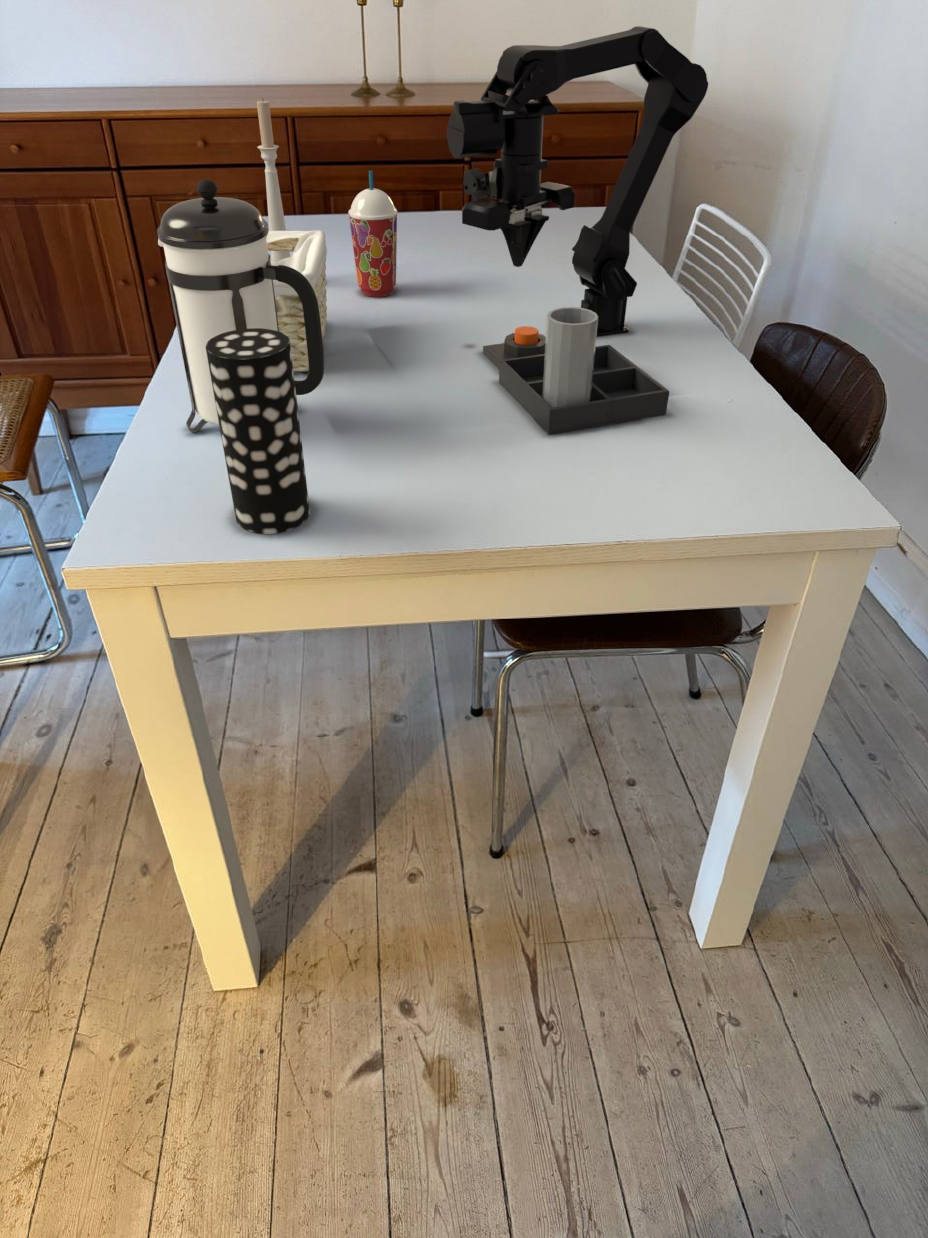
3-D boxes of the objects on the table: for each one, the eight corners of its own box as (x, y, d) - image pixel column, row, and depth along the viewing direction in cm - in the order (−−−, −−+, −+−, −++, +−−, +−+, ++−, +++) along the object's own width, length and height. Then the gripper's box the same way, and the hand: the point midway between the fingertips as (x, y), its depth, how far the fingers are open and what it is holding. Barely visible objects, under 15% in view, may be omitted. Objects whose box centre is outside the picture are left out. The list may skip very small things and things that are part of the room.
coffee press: (199, 458, 114) (149, 202, 96) (177, 407, 126) (129, 170, 108) (332, 433, 120) (309, 187, 101) (299, 387, 131) (274, 158, 113)
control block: (547, 344, 145) (548, 326, 143) (569, 363, 139) (570, 344, 137) (482, 353, 142) (483, 334, 140) (501, 373, 136) (502, 353, 134)
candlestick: (241, 278, 170) (215, 94, 152) (308, 269, 174) (290, 90, 156) (257, 299, 161) (231, 106, 143) (327, 290, 165) (311, 101, 147)
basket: (239, 320, 153) (225, 227, 144) (336, 319, 153) (328, 227, 144) (211, 378, 134) (192, 276, 125) (322, 377, 134) (311, 275, 125)
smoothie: (407, 287, 166) (403, 167, 154) (390, 301, 160) (383, 178, 148) (365, 282, 169) (358, 163, 156) (346, 296, 162) (337, 174, 150)
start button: (532, 336, 140) (533, 324, 139) (541, 344, 138) (542, 332, 137) (510, 338, 139) (511, 327, 138) (519, 347, 137) (520, 335, 136)
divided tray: (607, 367, 138) (609, 344, 135) (666, 414, 125) (669, 390, 122) (498, 383, 133) (499, 359, 131) (548, 434, 120) (549, 409, 118)
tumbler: (559, 396, 127) (565, 303, 120) (598, 409, 124) (607, 314, 116) (532, 412, 124) (537, 316, 116) (572, 425, 120) (579, 328, 112)
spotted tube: (240, 497, 107) (211, 329, 95) (311, 494, 107) (292, 327, 95) (231, 535, 100) (200, 360, 88) (308, 532, 101) (286, 357, 89)
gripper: (523, 134, 138) (519, 242, 148) (433, 153, 127) (436, 268, 137) (580, 145, 132) (572, 257, 141) (491, 165, 121) (490, 284, 131)
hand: (517, 265), depth 138 cm, fingers closed
